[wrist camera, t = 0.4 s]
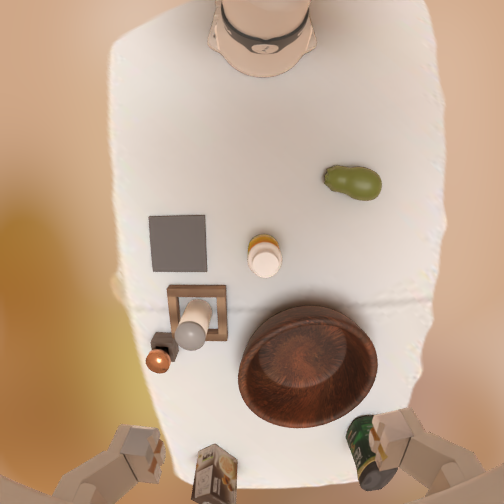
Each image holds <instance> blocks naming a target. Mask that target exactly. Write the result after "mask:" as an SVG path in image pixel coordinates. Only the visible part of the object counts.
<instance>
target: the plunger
mask: <svg viewBox="0 0 504 504" xmlns="http://www.w3.org/2000/svg"><path fill="white" fill-rule="evenodd" d="M167 351H168V349H167V347H163V346H161V347H160V349H154V350H152V351H150V352H149V354H148V356H147V358H146V365H147V367H148V368H149V369H150V370H151V371H153V372H155V373H165V372H166V371H167V370H168V369H169V366H170V364H171V359H170V356H169V355H168V354H167Z"/></svg>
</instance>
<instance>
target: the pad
mask: <svg viewBox="0 0 504 504" xmlns="http://www.w3.org/2000/svg"><path fill="white" fill-rule="evenodd" d="M149 231H150V244H151V256H152V267H153V272H207V257H206V232H205V215H188V216H152V217H149Z"/></svg>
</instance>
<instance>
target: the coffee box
mask: <svg viewBox="0 0 504 504" xmlns="http://www.w3.org/2000/svg"><path fill="white" fill-rule="evenodd" d="M236 489H237V459H236V458H234V457H233V456H231V455H230V454H228V453H227V452H226V451H224V450H223V449H221V448H220V447H219V446H217V445H216V444H214V445H211V446H209V447H207V448H205V449H202V450H200V451H199V452H198V458H197V465H196V471H195V478H194V484H193V490H192V497H191V500H193V501H195V502H197V503H199V504H236Z"/></svg>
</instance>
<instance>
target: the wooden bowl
mask: <svg viewBox="0 0 504 504" xmlns="http://www.w3.org/2000/svg"><path fill="white" fill-rule="evenodd" d="M377 367H378V362H377V354H376V350H375V347H374V345H373V343H372V341H371V340H370V338H369V337H368V336H367V334H366V333H365V332H364V331H363V330H362V329H361V328H360V327H359V326H358V325H357V324H356V323H355V322H353V321H352V320H351V319H349V318H348V317H347V316H345V315H343V314H342V313H340V312H337V311H335V310H333V309H329V308H326V307H321V306H300V307H294V308H290V309H287V310H285V311H282V312H280V313H278V314H276V315H274V316H273V317H271V318H270V319H268V320H267V321H266V322H264V323H263V324H262V325H261V326H260V327H259V328H258V329H257V331H256V332H255V333H254V334H253V336H252V337H251V339H250V341H249V342H248V344H247V346H246V349H245V351H244V354H243V357H242V360H241V363H240V367H239V373H238V385H239V390H240V393H241V396H242V398H243V400H244V402H245V403H246V405H247V406H248V407H249V409H250V410H251V411H252V412H253V413H255V414H256V415H257V416H258V417H260V418H262V419H263V420H265V421H267V422H269V423H272V424H275V425H278V426H283V427H289V428H309V427H315V426H320V425H324V424H327V423H330V422H332V421H335V420H337V419H339V418H341V417H342V416H344V415H346V414H347V413H349V412H350V411H352V410H353V409H354V408H355V407H356V406H358V405H359V404H360V403H361V402H362V400H363V399H364V398H365V397H366V396H367V394H368V393H369V391H370V389H371V388H372V386H373V383H374V381H375V378H376V374H377Z"/></svg>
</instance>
